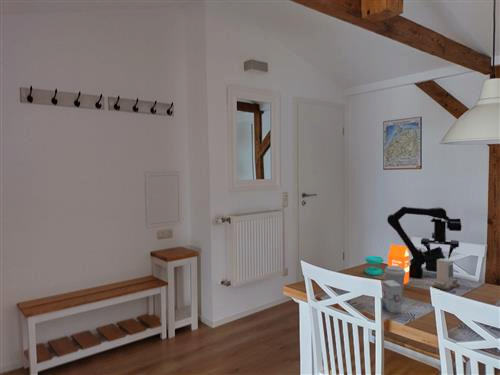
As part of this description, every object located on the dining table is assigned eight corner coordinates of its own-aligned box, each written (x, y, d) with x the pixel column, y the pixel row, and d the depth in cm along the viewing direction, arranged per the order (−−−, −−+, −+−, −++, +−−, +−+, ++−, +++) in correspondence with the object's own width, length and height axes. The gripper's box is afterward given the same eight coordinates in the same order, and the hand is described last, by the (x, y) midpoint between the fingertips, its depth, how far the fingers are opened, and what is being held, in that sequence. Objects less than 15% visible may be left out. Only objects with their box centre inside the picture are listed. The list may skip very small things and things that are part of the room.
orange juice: (403, 284, 198) (404, 247, 197) (387, 281, 204) (387, 245, 203) (409, 281, 204) (409, 245, 203) (393, 278, 210) (393, 243, 209)
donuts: (386, 258, 216) (372, 259, 213) (386, 275, 216) (372, 276, 213) (376, 254, 225) (361, 256, 222) (376, 271, 226) (361, 272, 223)
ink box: (381, 305, 167) (382, 279, 166) (392, 305, 167) (392, 279, 167) (390, 313, 158) (390, 285, 158) (401, 312, 158) (402, 285, 158)
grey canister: (379, 298, 176) (380, 267, 175) (391, 294, 182) (391, 264, 181) (398, 304, 168) (398, 271, 168) (409, 299, 174) (409, 268, 174)
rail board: (445, 291, 186) (445, 284, 186) (431, 288, 192) (432, 281, 192) (459, 286, 194) (459, 279, 194) (446, 283, 200) (446, 276, 200)
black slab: (450, 271, 218) (438, 247, 222) (428, 277, 226) (418, 253, 230) (452, 270, 221) (440, 246, 224) (430, 276, 229) (420, 252, 233)
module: (436, 284, 195) (436, 259, 194) (441, 282, 197) (441, 258, 197) (448, 287, 190) (448, 261, 189) (453, 285, 192) (453, 260, 192)
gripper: (459, 229, 210) (458, 256, 210) (423, 227, 219) (422, 253, 220) (458, 232, 200) (458, 260, 201) (421, 229, 209) (420, 257, 210)
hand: (439, 257), depth 208 cm, fingers open, 9 cm apart
